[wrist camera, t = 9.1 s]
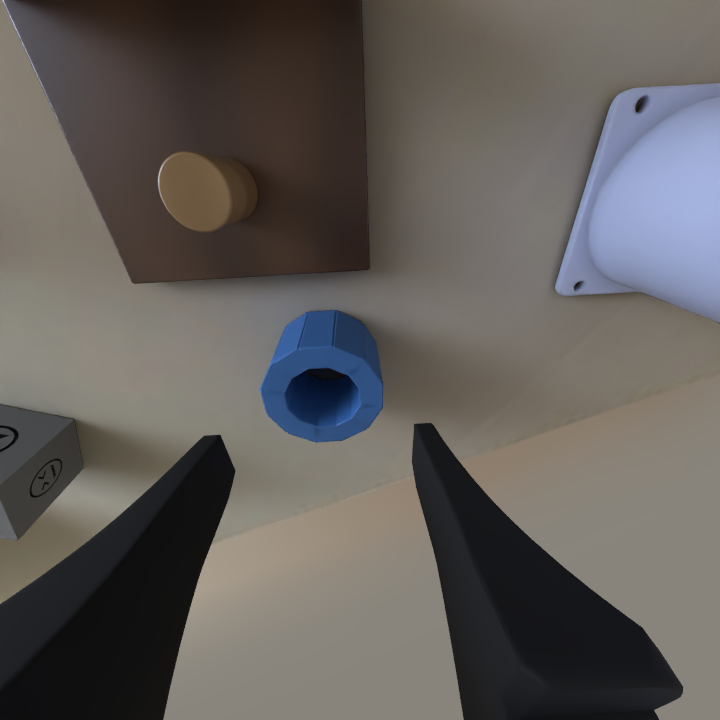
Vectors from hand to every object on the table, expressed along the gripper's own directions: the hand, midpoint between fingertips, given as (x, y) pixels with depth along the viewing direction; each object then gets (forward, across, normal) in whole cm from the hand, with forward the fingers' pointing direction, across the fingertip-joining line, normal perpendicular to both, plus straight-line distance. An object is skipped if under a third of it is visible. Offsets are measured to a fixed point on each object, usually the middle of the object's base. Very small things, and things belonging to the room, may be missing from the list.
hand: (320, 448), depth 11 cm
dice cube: (+7, +20, +5) cm, 22 cm away
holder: (+7, +3, -10) cm, 13 cm away
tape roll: (+7, 0, 0) cm, 7 cm away
